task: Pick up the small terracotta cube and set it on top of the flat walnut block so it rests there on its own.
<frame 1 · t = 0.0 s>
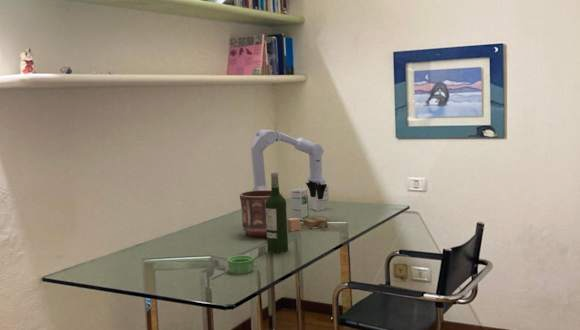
hand: (316, 198, 290), 10 cm above the table, tool pointing down, fingers open, 7 cm apart
ramekin: (241, 271, 210), on the table
terracotta cube: (293, 230, 270), on the table
pottery: (262, 235, 263), on the table
syrup box: (300, 219, 292), on the table
supplement box: (319, 209, 316), on the table
walnut block: (315, 227, 275), on the table
wine bottle: (277, 251, 235), on the table
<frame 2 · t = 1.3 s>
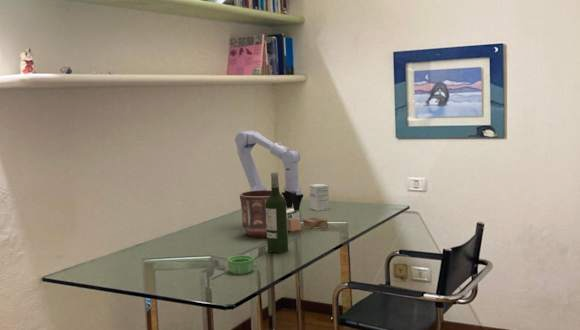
hand: (293, 209, 269), 9 cm above the table, tool pointing down, fingers open, 7 cm apart
syrup box: (297, 214, 290), point 3 cm above the table
everything else where it was.
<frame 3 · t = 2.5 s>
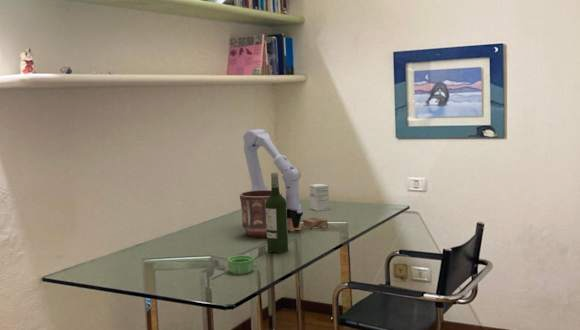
hand: (293, 226, 270), 1 cm above the table, tool pointing down, fingers closed on terracotta cube, 4 cm apart
terracotta cube: (293, 229, 270), on the table, touching gripper
everything else where it was.
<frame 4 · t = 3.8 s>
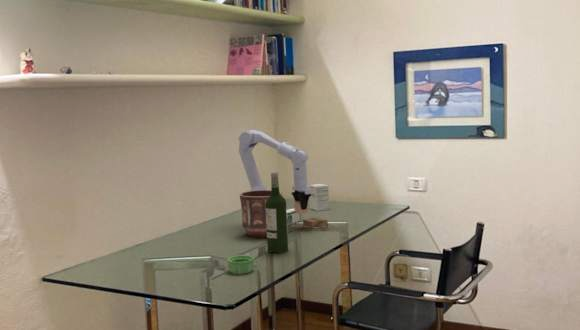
hand: (301, 208, 271), 9 cm above the table, tool pointing down, fingers closed on terracotta cube, 4 cm apart
terracotta cube: (301, 212, 271), point 7 cm above the table, touching gripper
everything else where it was.
when the fingers open (6 cm above the table, at t = 5.1 s): terracotta cube drops 1 cm, resting on walnut block.
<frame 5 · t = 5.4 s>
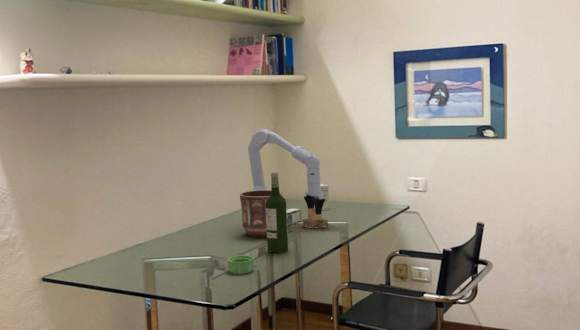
hand: (314, 212, 275), 6 cm above the table, tool pointing down, fingers open, 7 cm apart
terracotta cube: (314, 219, 275), point 3 cm above the table, touching walnut block
walnut block: (315, 227, 275), on the table, touching terracotta cube
everything else where it was.
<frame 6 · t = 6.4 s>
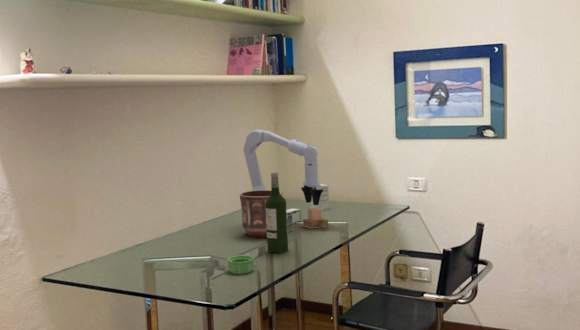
hand: (312, 203, 274), 10 cm above the table, tool pointing down, fingers open, 7 cm apart
nothing on the table moved.
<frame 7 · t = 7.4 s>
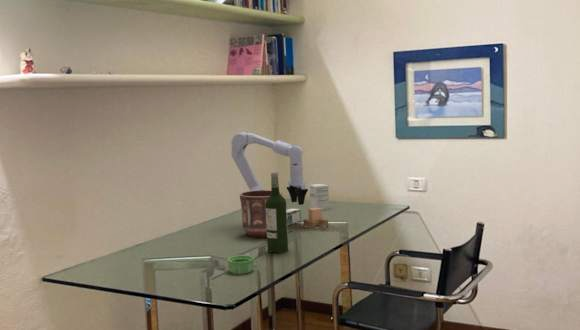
hand: (297, 203, 276), 10 cm above the table, tool pointing down, fingers open, 7 cm apart
terracotta cube: (315, 219, 275), point 3 cm above the table
walnut block: (315, 227, 275), on the table
everything else where it was.
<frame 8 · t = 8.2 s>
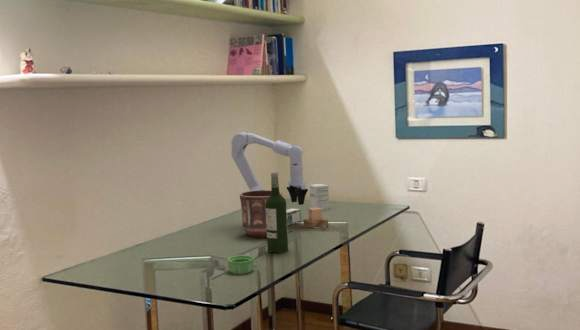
hand: (297, 203, 276), 10 cm above the table, tool pointing down, fingers open, 7 cm apart
nothing on the table moved.
at the end: terracotta cube 0.1 cm off-centre on the walnut block, point 3.5 cm above the walnut block's base; terracotta cube tilted 0°; the gripper is holding nothing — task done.
